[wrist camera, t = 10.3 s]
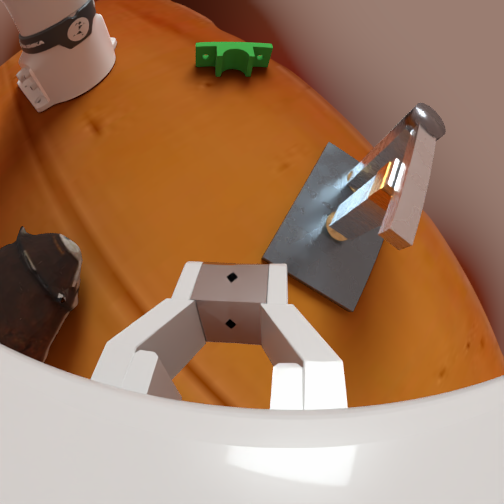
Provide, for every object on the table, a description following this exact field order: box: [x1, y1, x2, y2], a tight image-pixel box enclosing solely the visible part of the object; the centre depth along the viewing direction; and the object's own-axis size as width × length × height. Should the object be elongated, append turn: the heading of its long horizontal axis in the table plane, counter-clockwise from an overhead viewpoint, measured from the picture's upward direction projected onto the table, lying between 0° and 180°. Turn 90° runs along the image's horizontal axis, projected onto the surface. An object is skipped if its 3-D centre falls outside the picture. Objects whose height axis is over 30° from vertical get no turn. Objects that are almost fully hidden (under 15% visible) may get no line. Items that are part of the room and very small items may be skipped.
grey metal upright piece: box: [346, 103, 445, 250], centre depth 25 cm, size 4×15×15 cm, turn 150°
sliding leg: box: [329, 158, 402, 241], centre depth 25 cm, size 3×3×13 cm
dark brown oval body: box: [0, 226, 82, 363], centre depth 19 cm, size 15×15×25 cm
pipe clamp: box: [196, 42, 273, 77], centre depth 34 cm, size 11×4×5 cm, turn 96°
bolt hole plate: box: [261, 142, 384, 312], centre depth 32 cm, size 12×18×1 cm, turn 150°
